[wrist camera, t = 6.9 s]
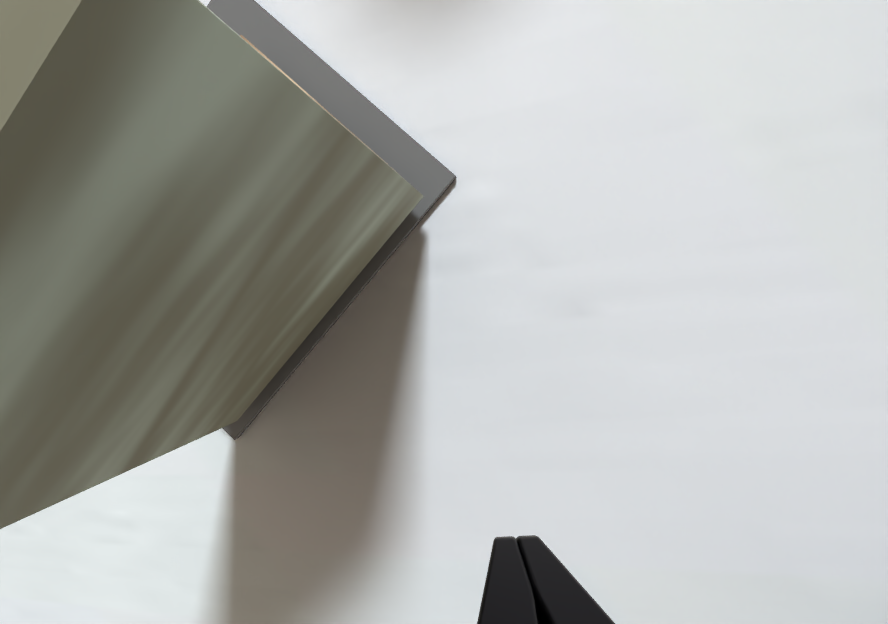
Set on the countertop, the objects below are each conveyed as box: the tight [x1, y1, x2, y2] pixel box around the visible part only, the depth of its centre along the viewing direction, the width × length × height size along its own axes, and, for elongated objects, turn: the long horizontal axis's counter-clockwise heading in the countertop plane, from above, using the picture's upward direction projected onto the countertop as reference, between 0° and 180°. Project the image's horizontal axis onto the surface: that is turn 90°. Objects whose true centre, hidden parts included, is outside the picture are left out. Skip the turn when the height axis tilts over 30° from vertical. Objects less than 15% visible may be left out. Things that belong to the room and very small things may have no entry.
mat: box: [207, 0, 456, 440], centre depth 21 cm, size 14×16×1 cm
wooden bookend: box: [0, 0, 423, 529], centre depth 14 cm, size 10×13×15 cm
